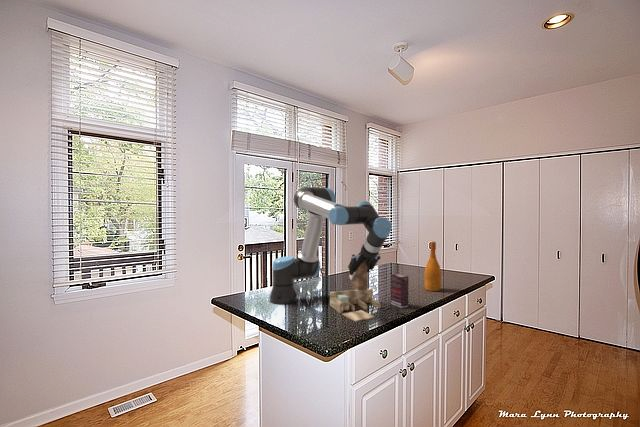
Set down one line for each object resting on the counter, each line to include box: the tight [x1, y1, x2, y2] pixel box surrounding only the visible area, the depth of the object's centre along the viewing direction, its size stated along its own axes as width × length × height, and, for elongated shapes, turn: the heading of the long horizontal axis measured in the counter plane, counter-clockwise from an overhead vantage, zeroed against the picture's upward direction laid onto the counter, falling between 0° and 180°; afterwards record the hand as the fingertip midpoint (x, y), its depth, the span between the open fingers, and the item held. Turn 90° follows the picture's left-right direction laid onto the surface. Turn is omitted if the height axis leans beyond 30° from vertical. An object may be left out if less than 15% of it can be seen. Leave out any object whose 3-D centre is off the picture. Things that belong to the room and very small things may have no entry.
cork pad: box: [341, 309, 376, 322], centre depth 160 cm, size 11×11×1 cm
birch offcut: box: [343, 303, 350, 312], centre depth 172 cm, size 4×7×4 cm, turn 17°
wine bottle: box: [423, 241, 442, 292], centre depth 211 cm, size 10×10×30 cm
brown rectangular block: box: [350, 257, 368, 290], centre depth 159 cm, size 4×8×14 cm, turn 18°
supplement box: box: [390, 273, 409, 309], centre depth 177 cm, size 9×5×16 cm, turn 29°
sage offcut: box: [337, 295, 348, 303], centre depth 172 cm, size 4×5×3 cm
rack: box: [329, 288, 381, 314], centre depth 174 cm, size 24×14×7 cm, turn 108°
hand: (355, 277), depth 163 cm, fingers closed on brown rectangular block, 4 cm apart
